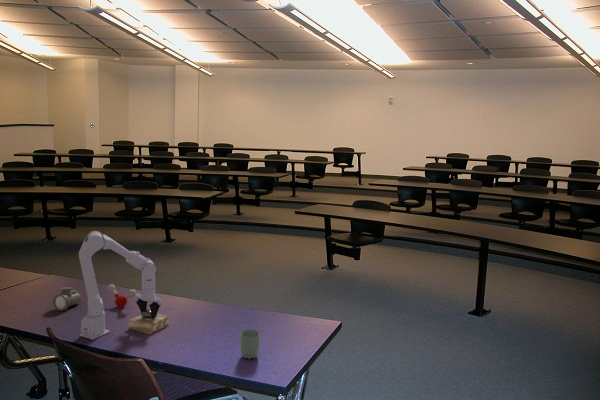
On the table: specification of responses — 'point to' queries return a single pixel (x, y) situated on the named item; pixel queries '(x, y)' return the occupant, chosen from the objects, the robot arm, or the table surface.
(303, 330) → the table surface
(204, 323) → the table surface
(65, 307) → the pipe fitting
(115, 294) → the molecular model
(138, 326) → the wooden block
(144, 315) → the steel pin
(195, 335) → the table surface
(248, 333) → the cup
